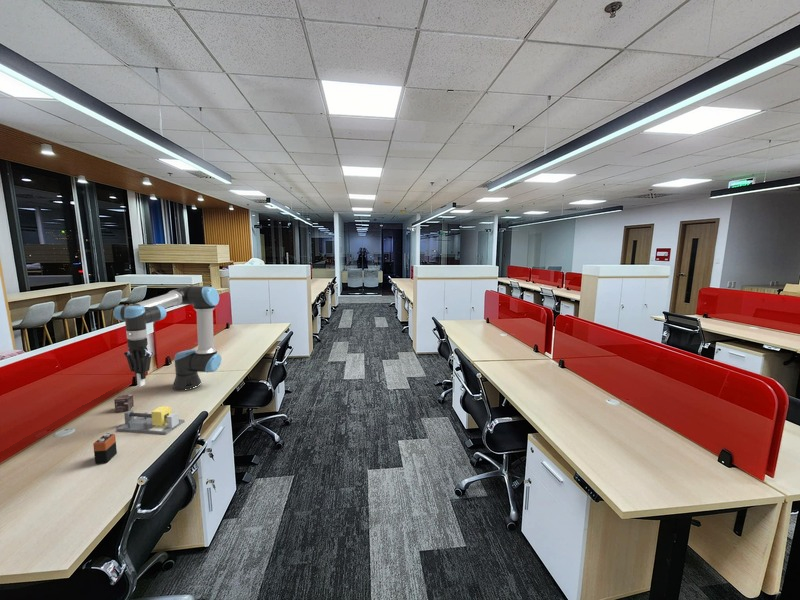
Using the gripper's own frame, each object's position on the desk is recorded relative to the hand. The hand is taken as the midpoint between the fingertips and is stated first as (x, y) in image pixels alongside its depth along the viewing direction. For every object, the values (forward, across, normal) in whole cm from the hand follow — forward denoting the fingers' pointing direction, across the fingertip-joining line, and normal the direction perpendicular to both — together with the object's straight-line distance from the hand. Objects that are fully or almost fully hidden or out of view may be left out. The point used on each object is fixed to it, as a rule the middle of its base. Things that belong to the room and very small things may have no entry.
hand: (141, 385), depth 159 cm
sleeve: (+18, +10, -1) cm, 21 cm away
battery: (+21, +7, -27) cm, 34 cm away
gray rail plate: (+21, +4, -1) cm, 21 cm away
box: (+21, -24, +13) cm, 35 cm away
